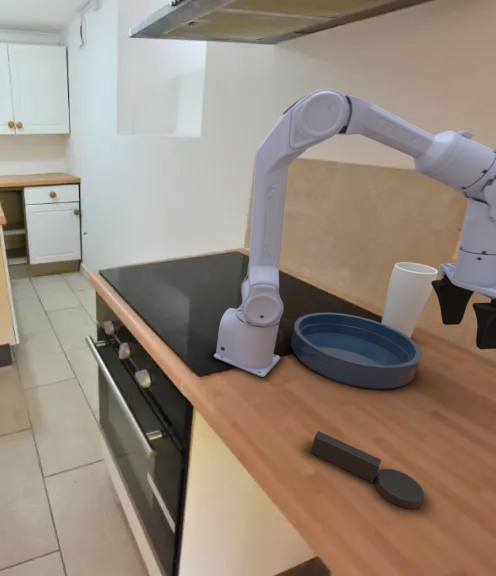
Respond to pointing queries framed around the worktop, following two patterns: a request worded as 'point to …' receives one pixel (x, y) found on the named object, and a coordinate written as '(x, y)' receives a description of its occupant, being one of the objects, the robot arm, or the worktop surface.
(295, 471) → the worktop surface
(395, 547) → the worktop surface
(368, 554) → the worktop surface
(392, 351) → the bowl
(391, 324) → the drinking glass
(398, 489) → the ladle
